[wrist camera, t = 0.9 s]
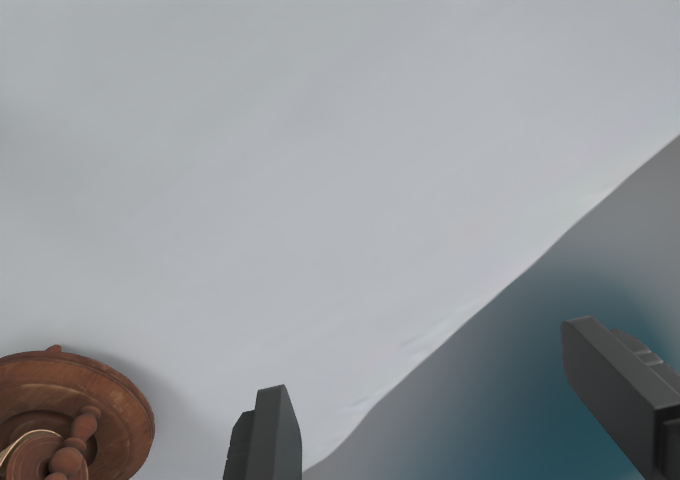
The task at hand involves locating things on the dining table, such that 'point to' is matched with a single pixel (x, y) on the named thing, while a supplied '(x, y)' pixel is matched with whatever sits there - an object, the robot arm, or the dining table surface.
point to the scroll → (70, 419)
